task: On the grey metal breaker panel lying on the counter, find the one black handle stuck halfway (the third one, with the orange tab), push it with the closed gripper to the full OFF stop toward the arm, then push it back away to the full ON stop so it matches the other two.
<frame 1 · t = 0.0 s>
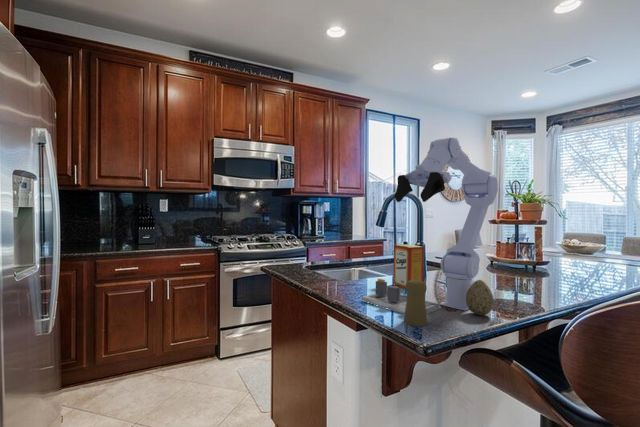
hand: (409, 198, 85), 32 cm above the countertop, tool tilted 50°, fingers open, 7 cm apart
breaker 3: (381, 286, 109), point 4 cm above the countertop, slide at 0.0 cm
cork: (415, 323, 88), on the countertop
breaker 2: (393, 293, 102), point 4 cm above the countertop, slide at 3.0 cm
breaker 1: (413, 298, 96), point 4 cm above the countertop, slide at 3.0 cm
decorative egg: (479, 315, 95), on the countertop
panel: (399, 305, 104), on the countertop
baking soda box: (407, 287, 129), on the countertop
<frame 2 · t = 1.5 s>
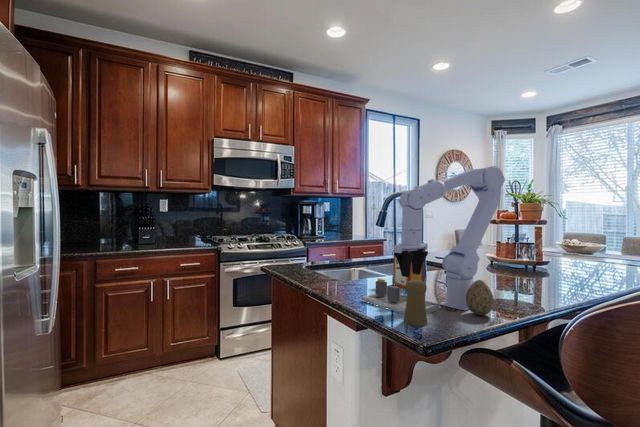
hand: (410, 275, 101), 10 cm above the countertop, tool pointing down, fingers open, 5 cm apart
nothing on the countertop moved.
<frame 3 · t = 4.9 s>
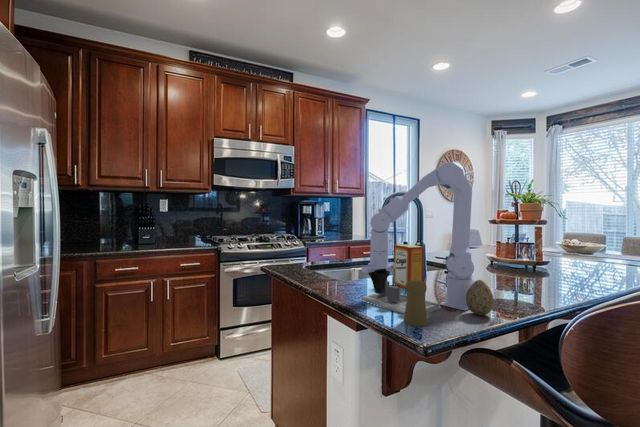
hand: (378, 293, 108), 3 cm above the countertop, tool pointing down, fingers closed
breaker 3: (383, 286, 110), point 4 cm above the countertop, slide at -1.3 cm, touching gripper
everything else where it was.
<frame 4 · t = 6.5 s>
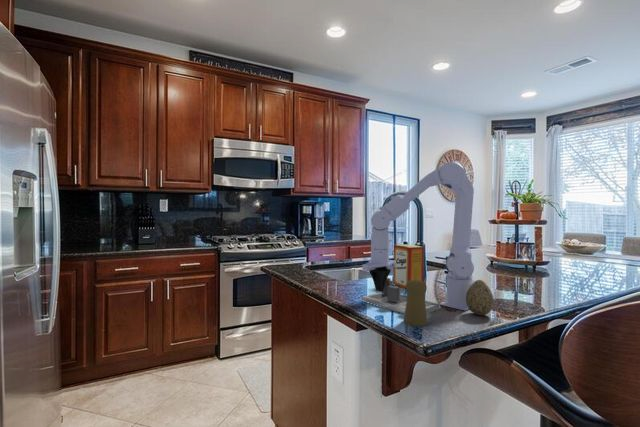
hand: (379, 290, 108), 3 cm above the countertop, tool pointing down, fingers closed
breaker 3: (387, 285, 111), point 4 cm above the countertop, slide at -3.1 cm
everything else where it was.
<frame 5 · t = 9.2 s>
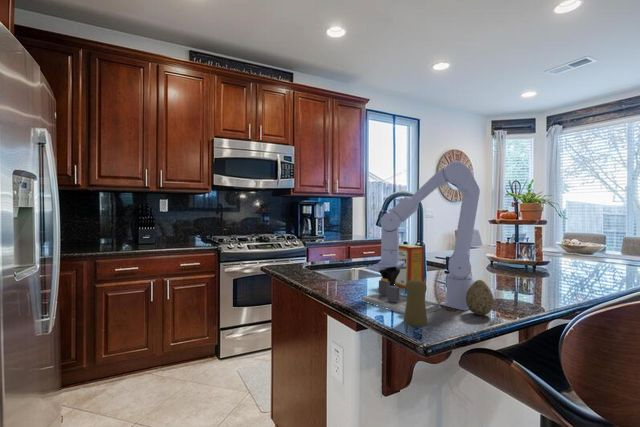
hand: (389, 290, 112), 3 cm above the countertop, tool pointing down, fingers closed
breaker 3: (384, 286, 110), point 4 cm above the countertop, slide at -1.6 cm, touching gripper
everything else where it was.
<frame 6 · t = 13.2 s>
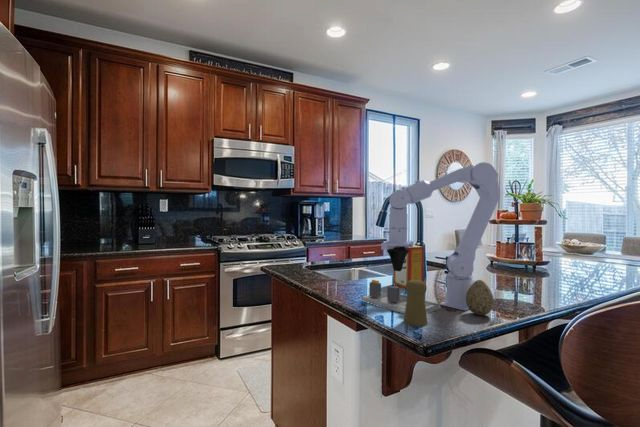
hand: (397, 270, 108), 10 cm above the countertop, tool pointing down, fingers closed
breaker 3: (375, 288, 107), point 4 cm above the countertop, slide at 3.1 cm
everything else where it was.
at the end: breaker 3 slide at 3.1 cm; breaker 1 slide at 3.0 cm; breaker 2 slide at 3.0 cm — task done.
